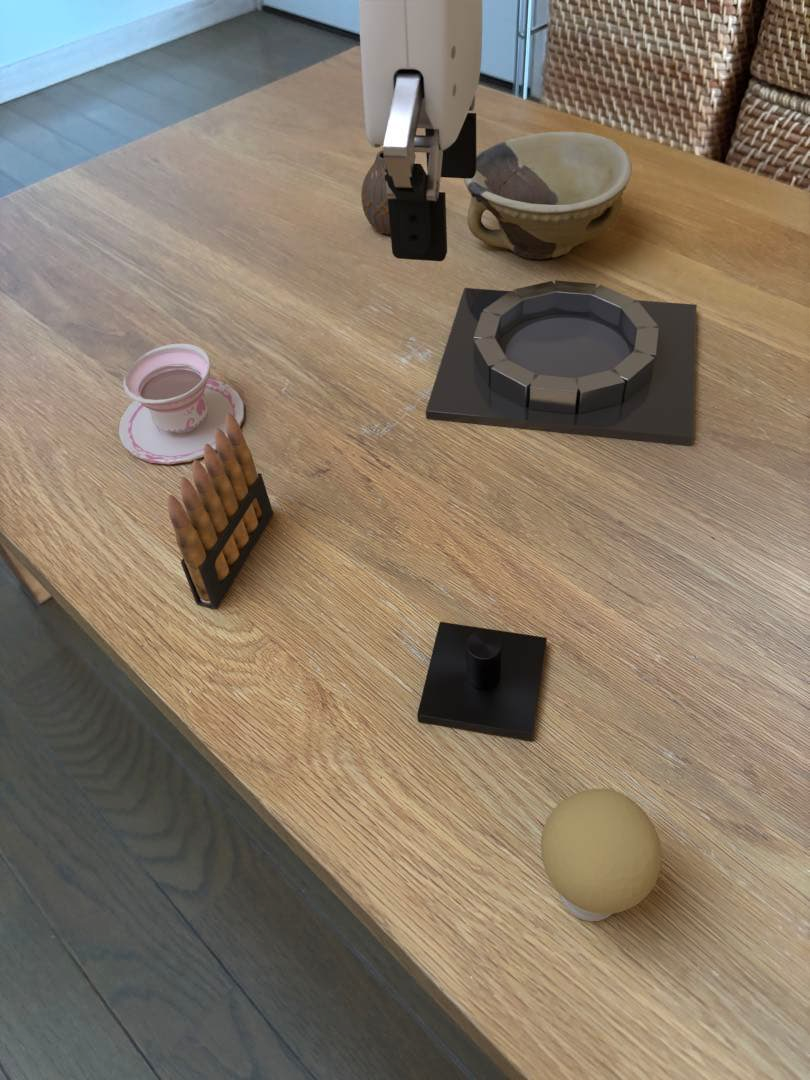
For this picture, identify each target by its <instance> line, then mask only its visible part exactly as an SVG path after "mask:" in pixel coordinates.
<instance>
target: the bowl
mask: <svg viewBox="0 0 810 1080" xmlns="http://www.w3.org/2000/svg"><path fill="white" fill-rule="evenodd" d="M476 155H477V170H476V173H475V176H474V177H473V178H471V179H466V178H463V182H464V185H465V187H466V189H467V190H468V194H470V196H471V198H470V203H469V206H468V210H467V214H466V215H467V218H466V219H467V227H468V229H469V231H470V233H471V234H472V235H473V236H474V237H475V238H476V239H478V240H479V241H481V242H483V243H485V244H488V245H490V246H493V247H497V248H502V249H507V250H510V251H511V252H513V253H514V254H516V255H517V256H519V257H521V258H525V259H530V260H546V259H550V258H552V259H554V258H558V257H560V256H563V255H566V254H568V253H570V251H572V249H573V248H574V247H576V246H578V245H580V244H582V243H586V242H589V241H591V240H593V239H596V238H598V237H599V236H601V235H603V234H604V233H606V232H607V231H608V230H610V229H611V228H612V227H613V226H614V225H615V224H616V223H617V221H618V220H619V218H620V216H621V214H622V211H623V206H624V200H623V195H624V191H625V190H626V189H627V185H628V184H629V181H630V179H631V176H632V172H633V166H632V161H631V158H630V156H629V154H628V153H627V152H626V150H625V149H624V148H622V147H621V145H619V144H618V143H616V142H615V140H613V139H610V138H607V137H605V136H602V135H598V134H595V133H590V132H584V131H583V132H581V131H549V132H548V131H547V132H539V133H533V134H528V135H524V136H520V137H514V138H511V139H507V140H504V141H502V142H500V143H497V144H494V145H492V146H490V147H488V148H487V149H485V150H483V151H481V152H479V153H477V154H476ZM486 210H487V211H488V212H490V213H491V214H492V215H493V216H494V217H495V218H496V220H497V223H498V225H499V228H498V229H491V228H489V227H486V226H485V225H484V223H483V221H482V216H483V215H484V212H485V211H486ZM601 212H602V213H601ZM599 213H601V214H600V215H598V214H599Z"/></svg>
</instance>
